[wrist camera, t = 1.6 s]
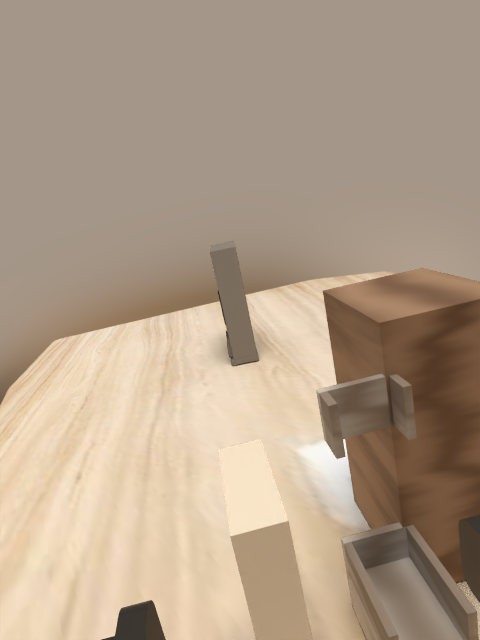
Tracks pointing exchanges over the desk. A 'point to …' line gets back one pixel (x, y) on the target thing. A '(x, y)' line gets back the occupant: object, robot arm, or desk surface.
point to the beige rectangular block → (263, 544)
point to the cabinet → (407, 446)
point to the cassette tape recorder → (233, 304)
